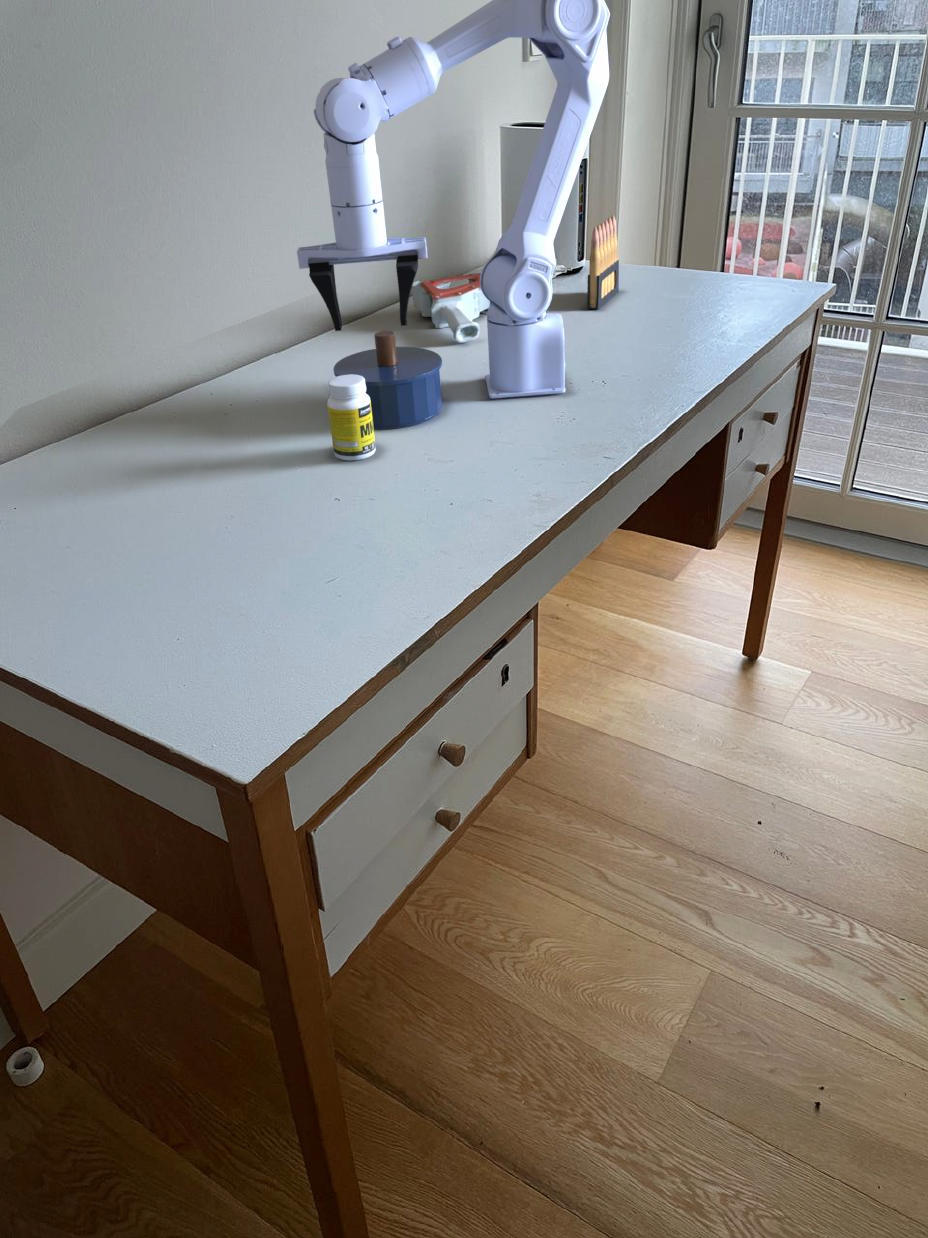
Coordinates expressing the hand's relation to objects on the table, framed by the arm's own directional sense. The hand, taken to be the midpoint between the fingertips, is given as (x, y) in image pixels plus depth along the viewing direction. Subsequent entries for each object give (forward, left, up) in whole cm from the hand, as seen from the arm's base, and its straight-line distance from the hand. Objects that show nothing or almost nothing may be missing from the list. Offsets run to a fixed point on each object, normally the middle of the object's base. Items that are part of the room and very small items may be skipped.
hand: (371, 325), depth 115 cm
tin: (-1, +1, -10) cm, 10 cm away
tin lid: (-1, +1, -5) cm, 5 cm away
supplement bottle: (+3, +13, -11) cm, 17 cm away
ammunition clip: (-34, -41, -11) cm, 55 cm away
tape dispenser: (-10, -35, -11) cm, 38 cm away
